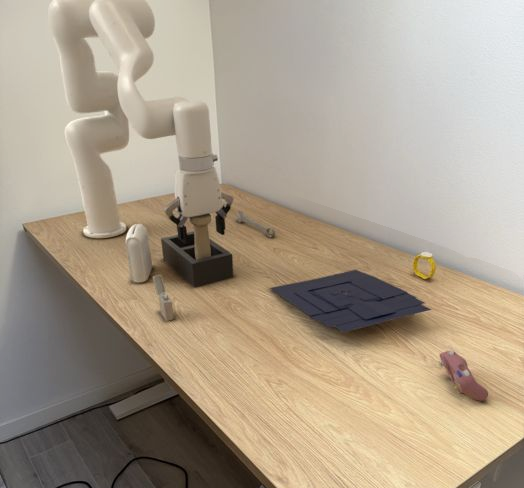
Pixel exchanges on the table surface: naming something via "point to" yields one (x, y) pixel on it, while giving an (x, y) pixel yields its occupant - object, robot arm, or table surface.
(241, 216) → the combination wrench
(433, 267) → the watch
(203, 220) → the handle
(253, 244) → the table surface
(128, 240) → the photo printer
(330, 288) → the navy flat block
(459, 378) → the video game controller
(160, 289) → the lighter
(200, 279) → the holder
